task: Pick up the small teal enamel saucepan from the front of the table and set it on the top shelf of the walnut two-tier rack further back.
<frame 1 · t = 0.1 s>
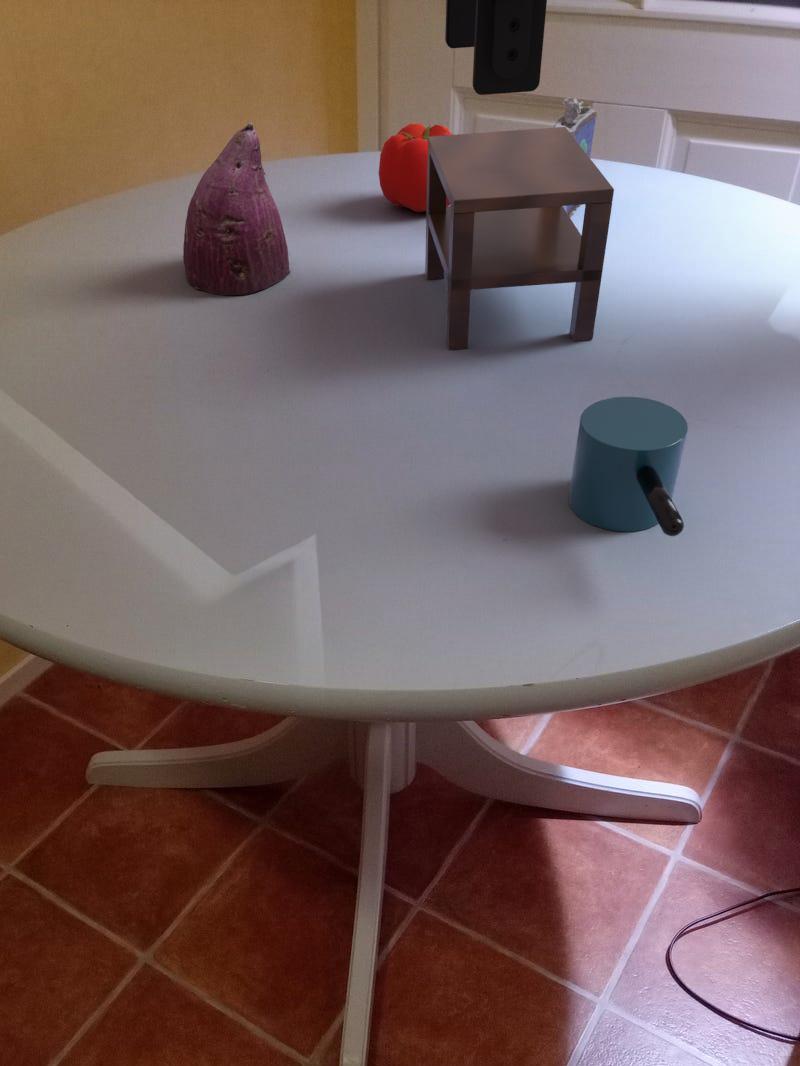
hand: (488, 66, 51), 25 cm above the table, tool pointing down, fingers open, 9 cm apart
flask: (562, 214, 102), on the table
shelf: (503, 304, 87), on the table
vegetable: (237, 275, 95), on the table
red capsicum: (423, 206, 106), on the table
saucepan: (618, 502, 64), on the table
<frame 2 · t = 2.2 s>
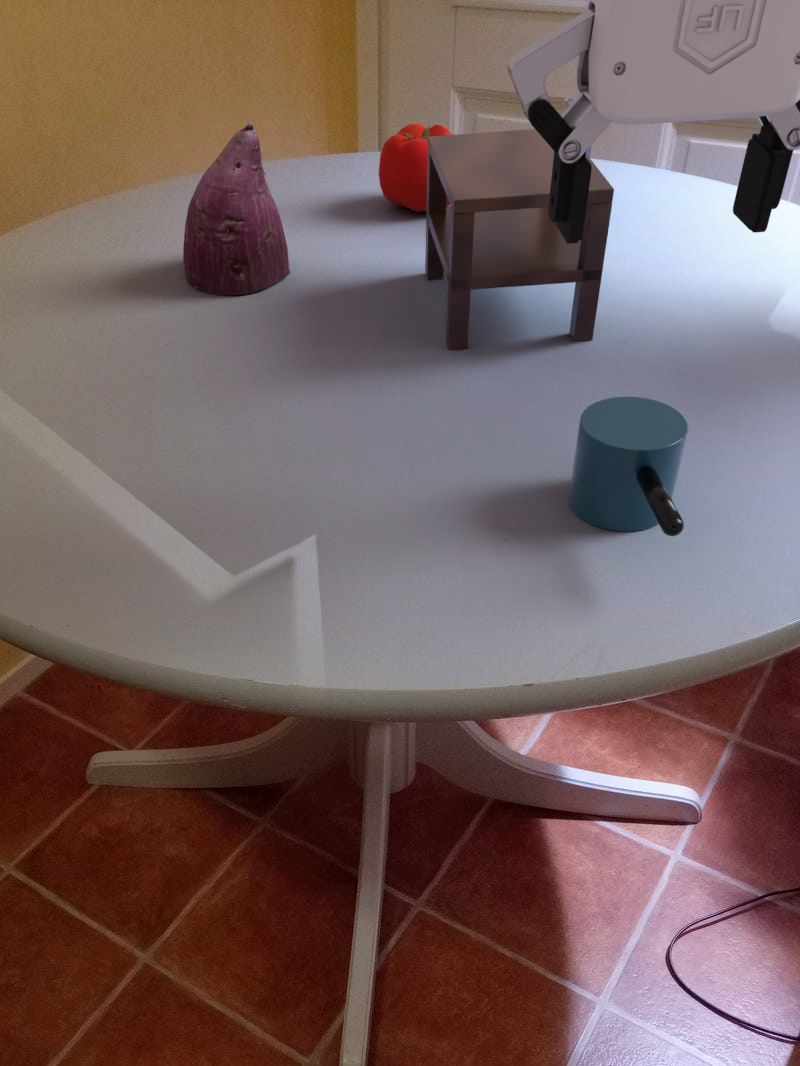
hand: (658, 228, 52), 18 cm above the table, tool pointing down, fingers open, 9 cm apart
nothing on the table moved.
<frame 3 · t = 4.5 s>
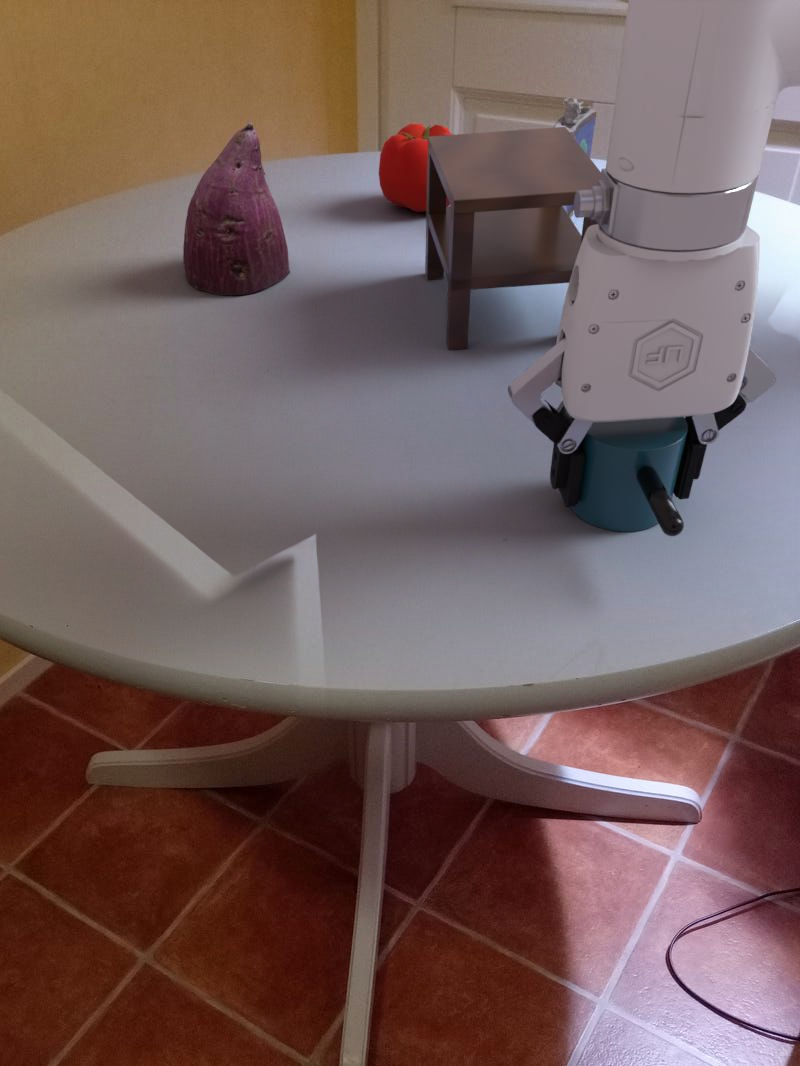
hand: (621, 489, 63), 1 cm above the table, tool pointing down, fingers closed on saucepan, 6 cm apart
saucepan: (618, 502, 64), on the table, touching gripper
everything else where it was.
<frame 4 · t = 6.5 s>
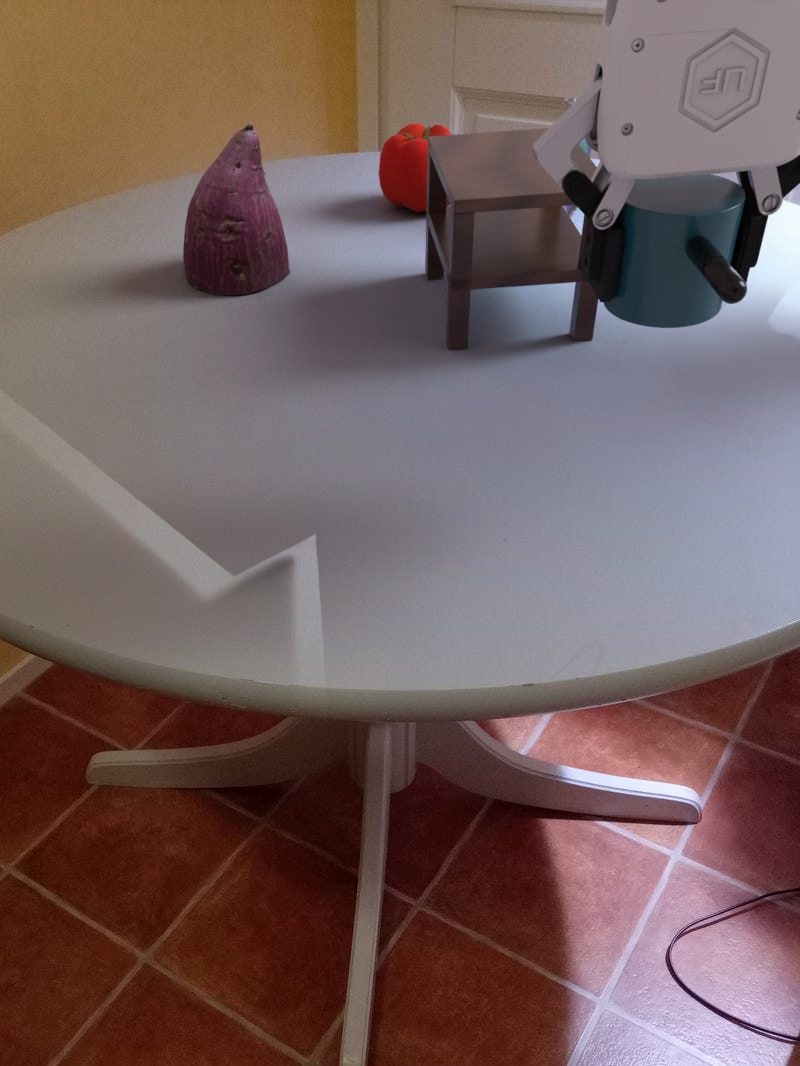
hand: (664, 283, 54), 15 cm above the table, tool pointing down, fingers closed on saucepan, 6 cm apart
saucepan: (661, 302, 55), point 14 cm above the table, touching gripper
everything else where it was.
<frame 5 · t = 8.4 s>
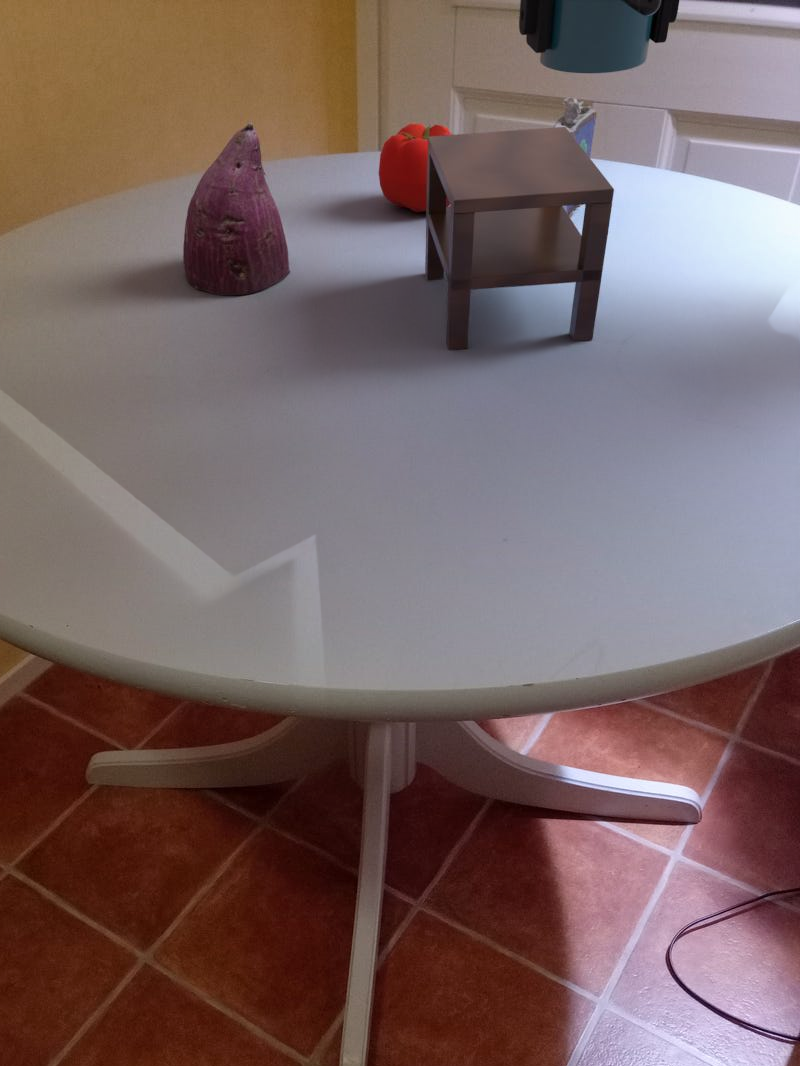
hand: (594, 39, 60), 23 cm above the table, tool pointing down, fingers closed on saucepan, 6 cm apart
saucepan: (592, 60, 60), point 22 cm above the table, touching gripper
everything else where it was.
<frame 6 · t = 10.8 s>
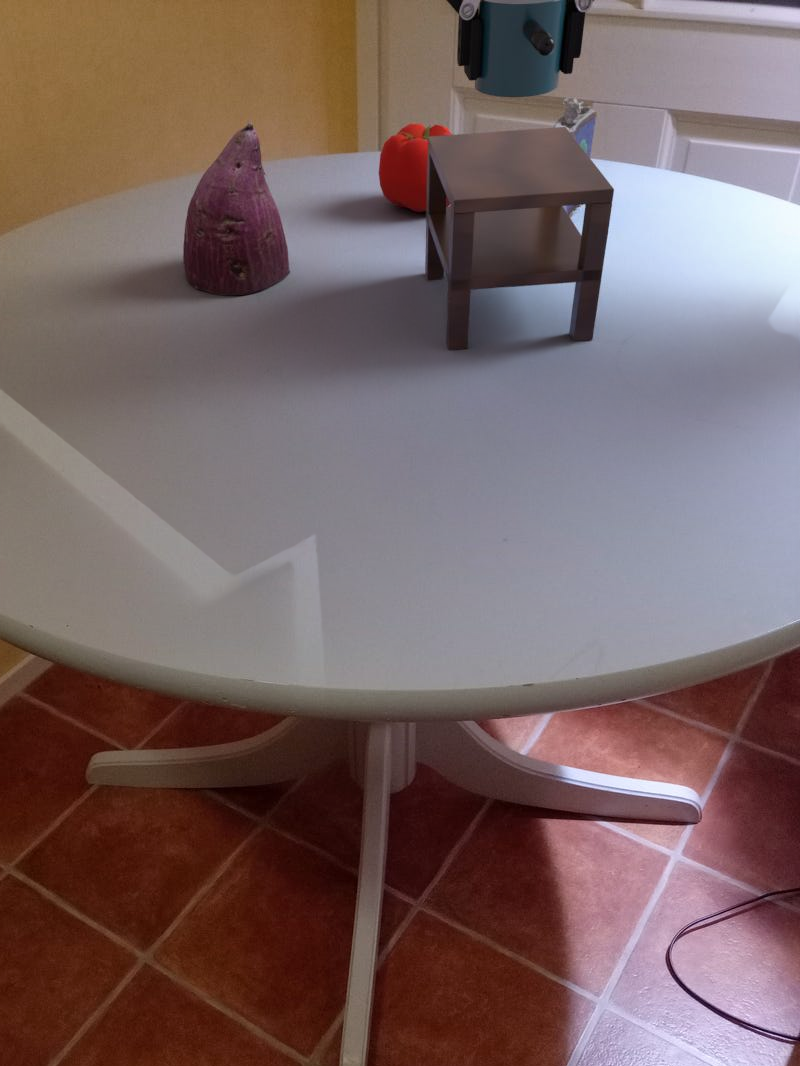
hand: (517, 70, 75), 18 cm above the table, tool pointing down, fingers closed on saucepan, 6 cm apart
saucepan: (516, 86, 76), point 17 cm above the table, touching gripper
everything else where it was.
when the fingers open (13 cm above the table, at t = 12.6 s): saucepan stays where it is, resting on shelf.
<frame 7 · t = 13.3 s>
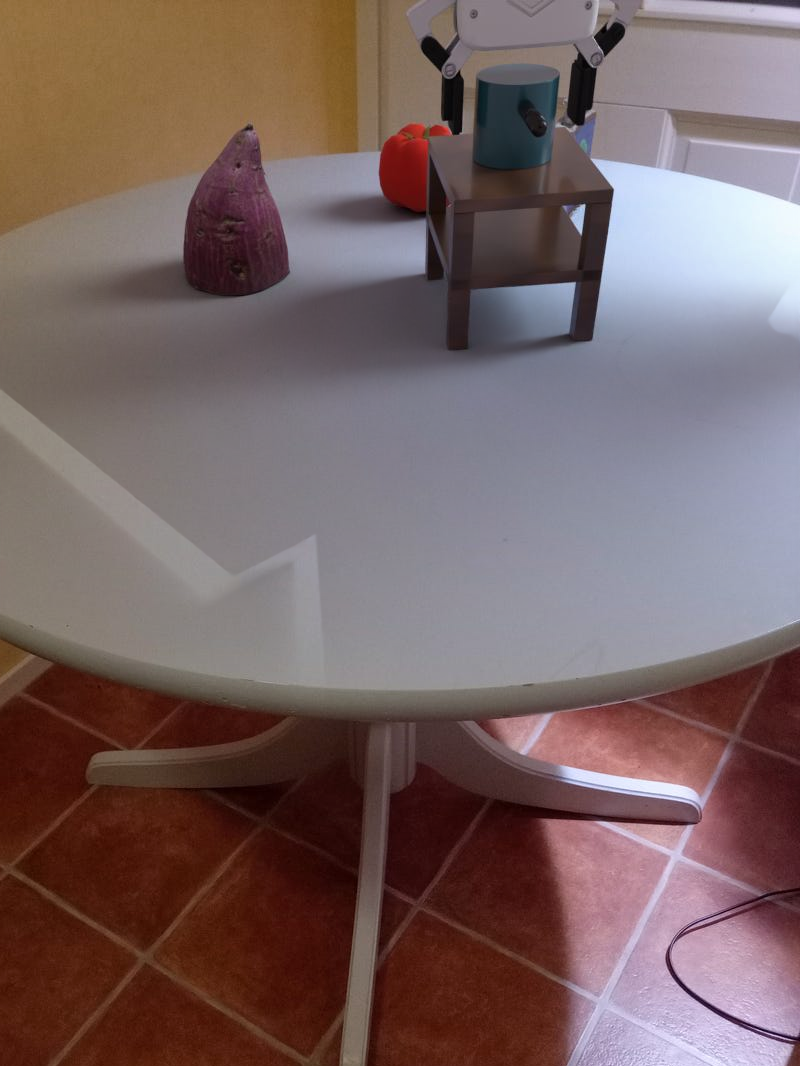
hand: (514, 125, 78), 14 cm above the table, tool pointing down, fingers open, 9 cm apart
saucepan: (511, 156, 79), point 12 cm above the table, touching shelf
everything else where it was.
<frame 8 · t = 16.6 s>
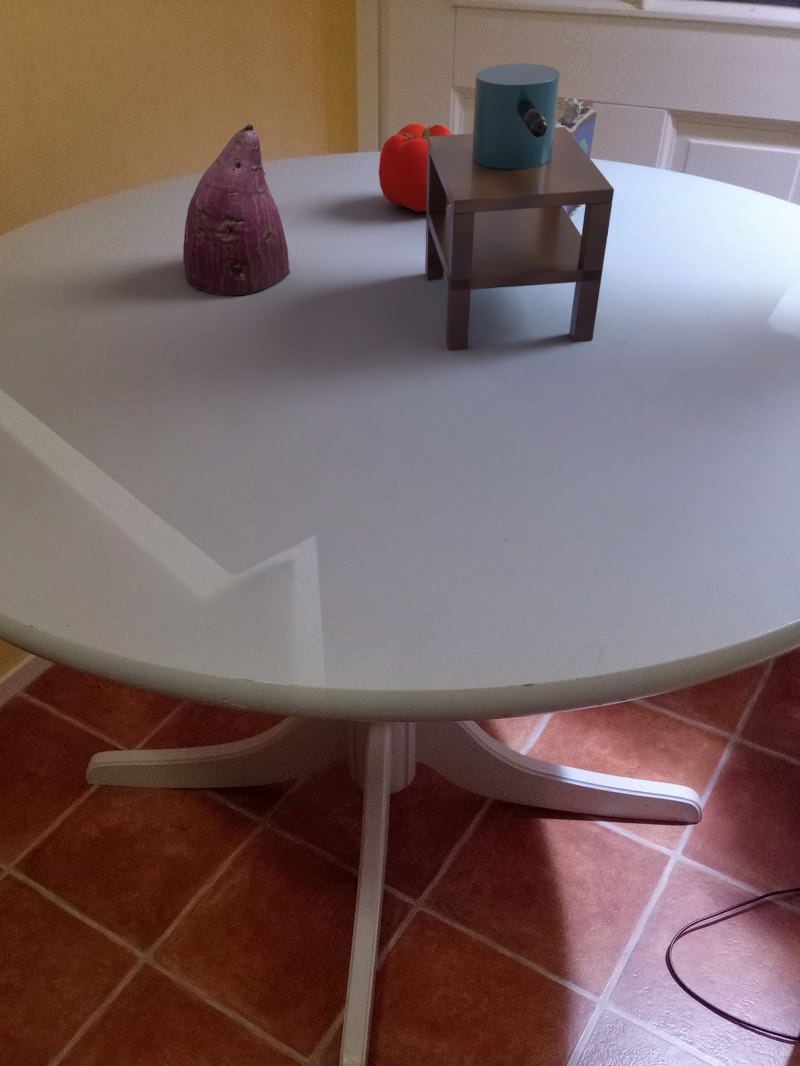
nothing on the table moved.
at the end: saucepan inside the target area on the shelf (1.0 cm from its centre), point 12.0 cm above the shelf's base; saucepan tilted 0°; the gripper is holding nothing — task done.
